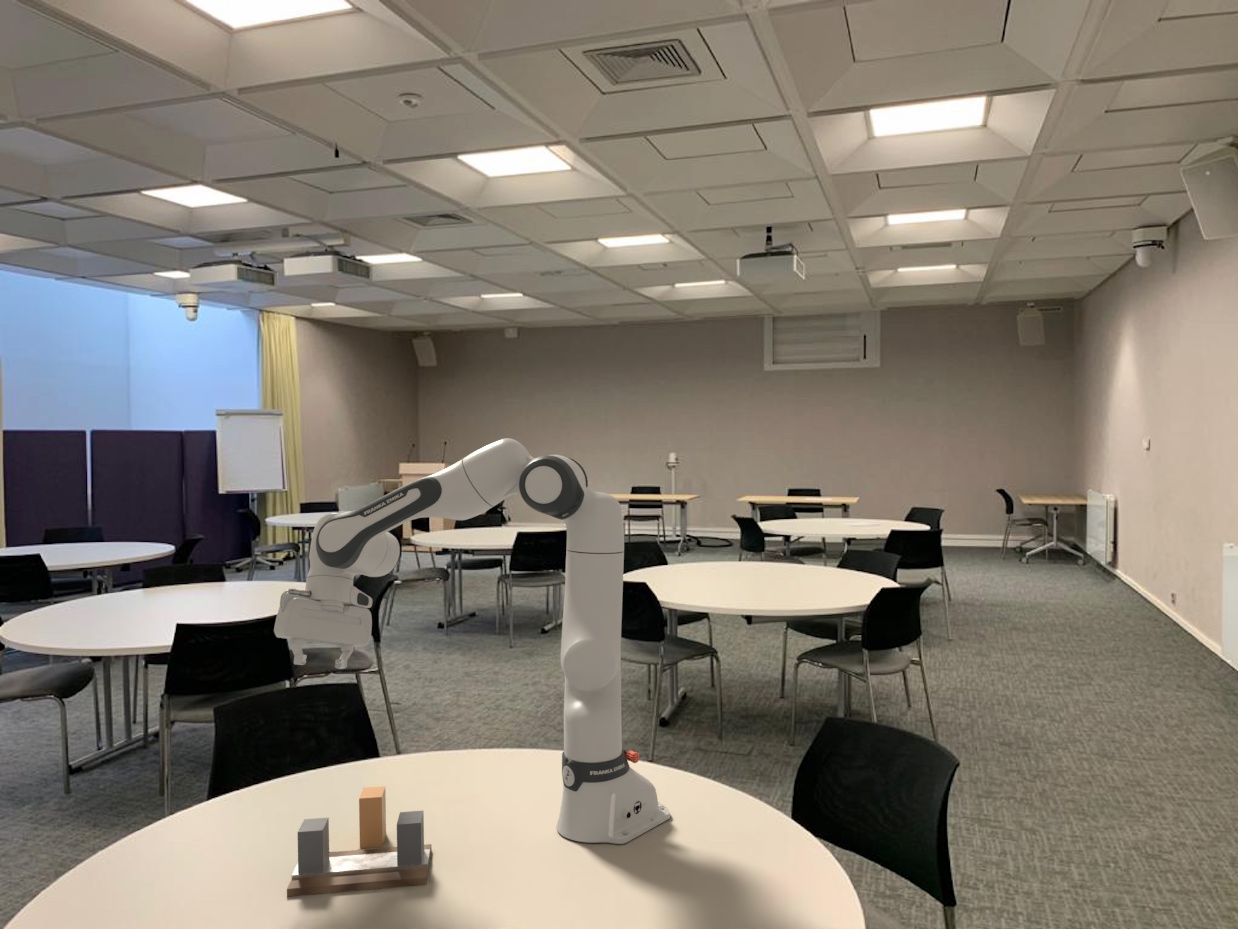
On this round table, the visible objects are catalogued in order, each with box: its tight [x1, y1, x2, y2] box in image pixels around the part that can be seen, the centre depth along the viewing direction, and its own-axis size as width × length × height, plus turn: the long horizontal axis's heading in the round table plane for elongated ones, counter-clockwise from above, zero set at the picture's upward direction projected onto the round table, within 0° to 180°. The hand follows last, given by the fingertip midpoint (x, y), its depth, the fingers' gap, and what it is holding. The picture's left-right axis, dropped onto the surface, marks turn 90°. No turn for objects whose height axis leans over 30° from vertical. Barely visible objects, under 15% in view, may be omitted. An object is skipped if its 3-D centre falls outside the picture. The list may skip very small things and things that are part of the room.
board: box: [286, 843, 433, 897], centre depth 143 cm, size 22×12×1 cm, turn 98°
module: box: [358, 786, 387, 849], centre depth 155 cm, size 4×5×9 cm
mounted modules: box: [297, 810, 425, 874], centre depth 143 cm, size 20×5×7 cm, turn 98°
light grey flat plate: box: [291, 849, 430, 879], centre depth 143 cm, size 22×6×1 cm, turn 98°
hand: (320, 666), depth 160 cm, fingers open, 8 cm apart
